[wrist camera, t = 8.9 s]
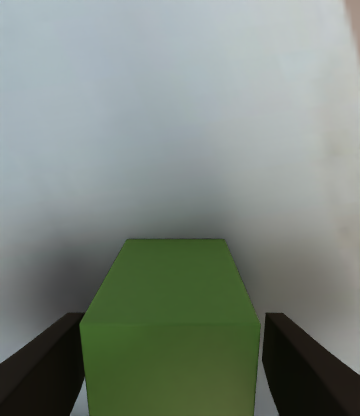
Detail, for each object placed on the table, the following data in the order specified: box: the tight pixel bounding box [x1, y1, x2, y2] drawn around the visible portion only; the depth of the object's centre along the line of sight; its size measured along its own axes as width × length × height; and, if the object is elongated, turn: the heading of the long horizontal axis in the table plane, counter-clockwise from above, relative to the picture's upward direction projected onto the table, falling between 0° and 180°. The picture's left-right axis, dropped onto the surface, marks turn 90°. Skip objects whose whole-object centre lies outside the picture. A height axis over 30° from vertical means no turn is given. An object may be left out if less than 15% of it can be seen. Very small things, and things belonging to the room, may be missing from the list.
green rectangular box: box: [79, 239, 261, 416], centre depth 9 cm, size 6×4×5 cm, turn 0°
